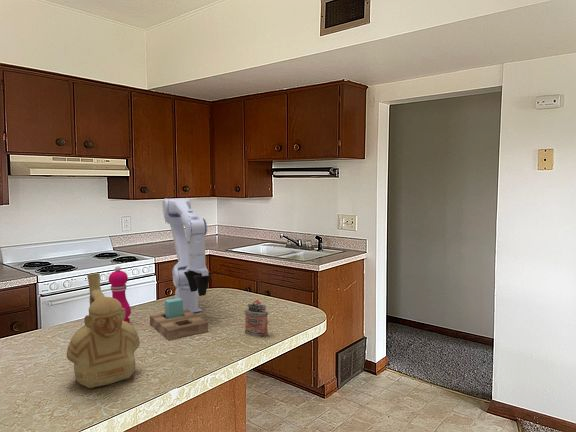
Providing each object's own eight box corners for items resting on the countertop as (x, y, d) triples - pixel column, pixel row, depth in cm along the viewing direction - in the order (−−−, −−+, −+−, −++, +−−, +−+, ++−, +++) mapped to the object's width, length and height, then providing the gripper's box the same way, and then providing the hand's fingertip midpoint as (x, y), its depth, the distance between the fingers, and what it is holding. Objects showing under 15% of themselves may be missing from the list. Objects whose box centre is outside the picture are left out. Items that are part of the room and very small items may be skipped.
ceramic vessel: (74, 402, 100) (68, 291, 97) (62, 370, 116) (57, 275, 114) (151, 382, 109) (147, 280, 107) (130, 355, 125) (126, 267, 123)
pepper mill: (135, 321, 154) (133, 264, 152) (125, 329, 147) (123, 268, 145) (114, 321, 155) (112, 264, 153) (104, 328, 148) (101, 268, 146)
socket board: (150, 324, 152) (149, 315, 151) (186, 317, 159) (186, 308, 159) (168, 340, 137) (168, 330, 137) (208, 331, 144) (207, 322, 144)
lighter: (242, 333, 142) (242, 302, 141) (248, 330, 145) (248, 300, 144) (264, 338, 138) (264, 306, 137) (270, 334, 141) (269, 303, 140)
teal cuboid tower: (165, 323, 152) (164, 300, 151) (179, 320, 155) (179, 297, 154) (169, 326, 149) (168, 302, 148) (183, 323, 152) (182, 300, 151)
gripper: (178, 252, 158) (179, 291, 159) (193, 258, 146) (194, 299, 147) (197, 251, 162) (198, 288, 163) (213, 255, 150) (214, 296, 151)
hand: (197, 293), depth 155 cm, fingers open, 7 cm apart
